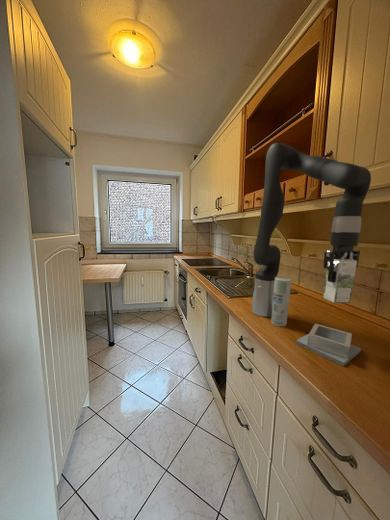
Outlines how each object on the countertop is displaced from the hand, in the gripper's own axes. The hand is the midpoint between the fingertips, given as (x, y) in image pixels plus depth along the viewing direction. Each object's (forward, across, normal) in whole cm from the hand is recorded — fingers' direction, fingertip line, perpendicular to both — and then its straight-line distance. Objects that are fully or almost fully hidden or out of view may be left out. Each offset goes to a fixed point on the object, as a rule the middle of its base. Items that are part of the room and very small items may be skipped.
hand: (338, 281), depth 70 cm
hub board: (+24, +1, 0) cm, 24 cm away
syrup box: (+7, 0, 0) cm, 7 cm away
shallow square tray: (+23, +1, 0) cm, 23 cm away
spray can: (+24, +4, -21) cm, 32 cm away
